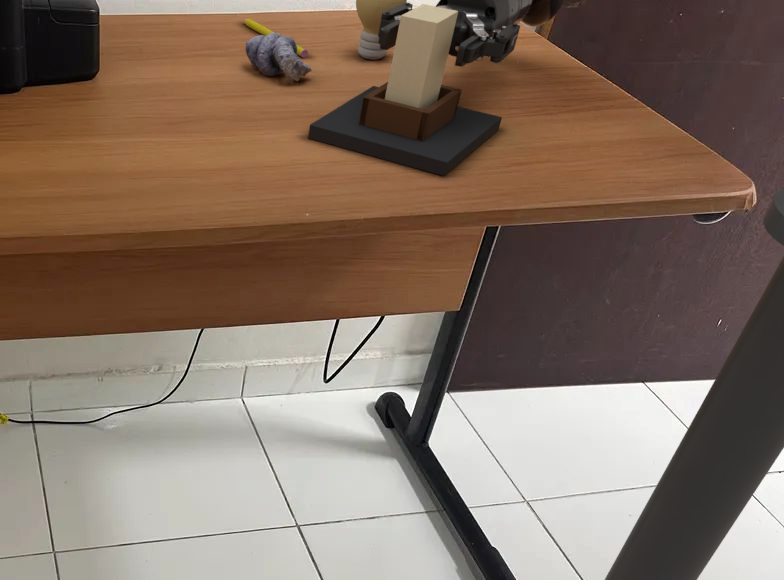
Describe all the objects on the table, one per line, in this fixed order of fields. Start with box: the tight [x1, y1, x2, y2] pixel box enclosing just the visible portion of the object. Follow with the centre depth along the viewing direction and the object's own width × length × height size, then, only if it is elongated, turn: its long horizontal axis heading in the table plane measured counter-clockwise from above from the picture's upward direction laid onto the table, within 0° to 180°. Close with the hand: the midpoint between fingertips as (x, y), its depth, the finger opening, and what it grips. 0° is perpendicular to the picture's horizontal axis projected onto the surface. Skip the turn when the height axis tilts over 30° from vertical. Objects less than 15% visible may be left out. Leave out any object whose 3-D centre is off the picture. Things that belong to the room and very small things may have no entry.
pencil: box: [243, 18, 309, 59], centre depth 125 cm, size 16×1×1 cm, turn 25°
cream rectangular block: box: [385, 3, 458, 109], centre depth 96 cm, size 4×6×11 cm
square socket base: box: [307, 81, 503, 177], centre depth 100 cm, size 16×16×4 cm
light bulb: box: [355, 0, 408, 60], centre depth 118 cm, size 6×6×10 cm
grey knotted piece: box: [245, 31, 313, 82], centre depth 113 cm, size 5×5×10 cm
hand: (421, 47), depth 94 cm, fingers open, 8 cm apart
